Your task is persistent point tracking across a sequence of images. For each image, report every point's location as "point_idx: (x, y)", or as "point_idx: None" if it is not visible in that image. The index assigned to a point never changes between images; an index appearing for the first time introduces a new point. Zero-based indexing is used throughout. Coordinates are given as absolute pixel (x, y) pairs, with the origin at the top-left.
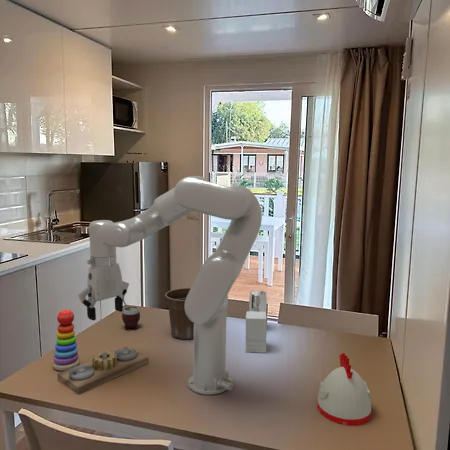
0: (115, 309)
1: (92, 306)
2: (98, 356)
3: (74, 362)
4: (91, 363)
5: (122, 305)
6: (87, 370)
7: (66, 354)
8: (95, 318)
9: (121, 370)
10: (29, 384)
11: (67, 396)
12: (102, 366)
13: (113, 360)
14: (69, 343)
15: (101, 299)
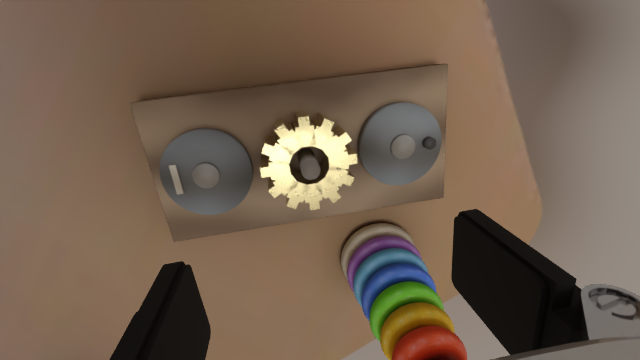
0: (209, 329)
1: (591, 305)
2: (329, 178)
3: (370, 237)
4: None
5: (141, 305)
6: (386, 135)
7: (409, 254)
8: (467, 216)
9: (271, 85)
10: (491, 212)
11: (463, 77)
12: (331, 129)
13: (287, 127)
14: (410, 282)
15: (613, 345)
